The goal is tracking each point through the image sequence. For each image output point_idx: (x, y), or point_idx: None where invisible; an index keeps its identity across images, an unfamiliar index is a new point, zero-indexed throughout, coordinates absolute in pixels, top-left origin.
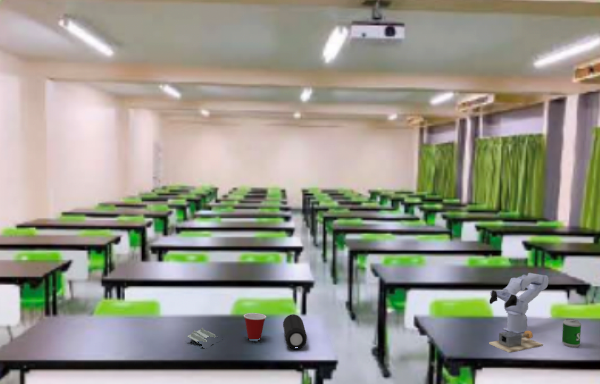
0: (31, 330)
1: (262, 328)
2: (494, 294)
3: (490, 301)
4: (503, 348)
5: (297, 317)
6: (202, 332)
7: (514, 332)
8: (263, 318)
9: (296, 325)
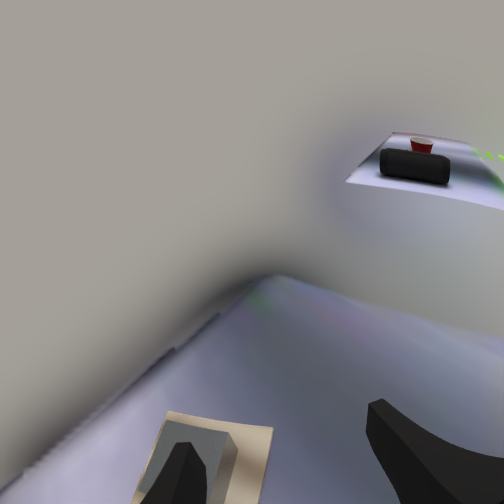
0: (440, 137)
1: None
2: (433, 474)
3: (372, 412)
4: (194, 416)
5: (432, 156)
6: None
7: None
8: (413, 140)
9: (397, 149)
